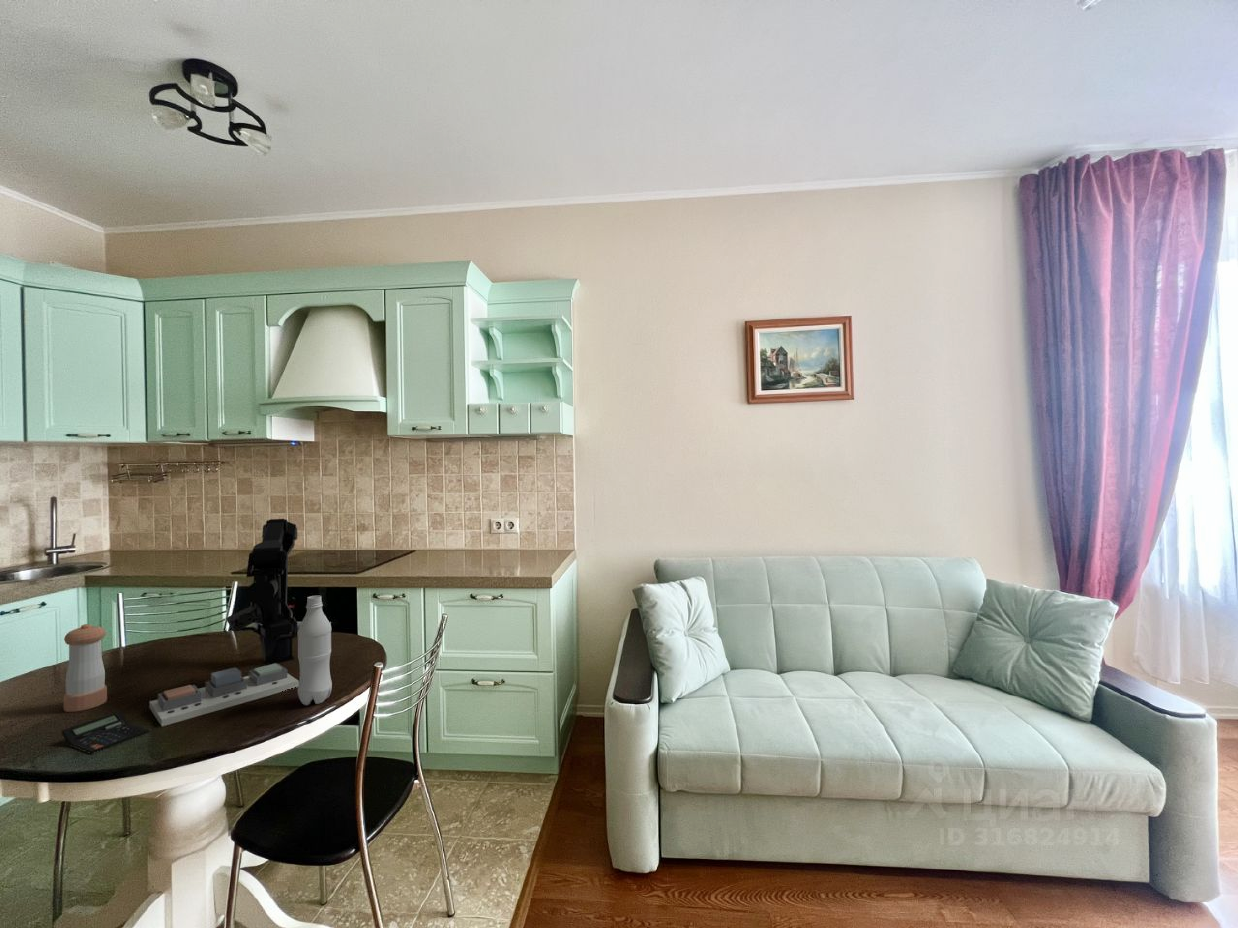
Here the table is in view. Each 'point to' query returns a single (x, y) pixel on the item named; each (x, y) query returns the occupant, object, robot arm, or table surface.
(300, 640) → the water bottle
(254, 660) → the table surface
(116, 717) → the calculator
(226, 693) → the button board
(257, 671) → the one dot button
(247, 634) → the table surface
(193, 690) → the three dot button
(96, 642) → the pepper shaker
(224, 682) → the two dot button
